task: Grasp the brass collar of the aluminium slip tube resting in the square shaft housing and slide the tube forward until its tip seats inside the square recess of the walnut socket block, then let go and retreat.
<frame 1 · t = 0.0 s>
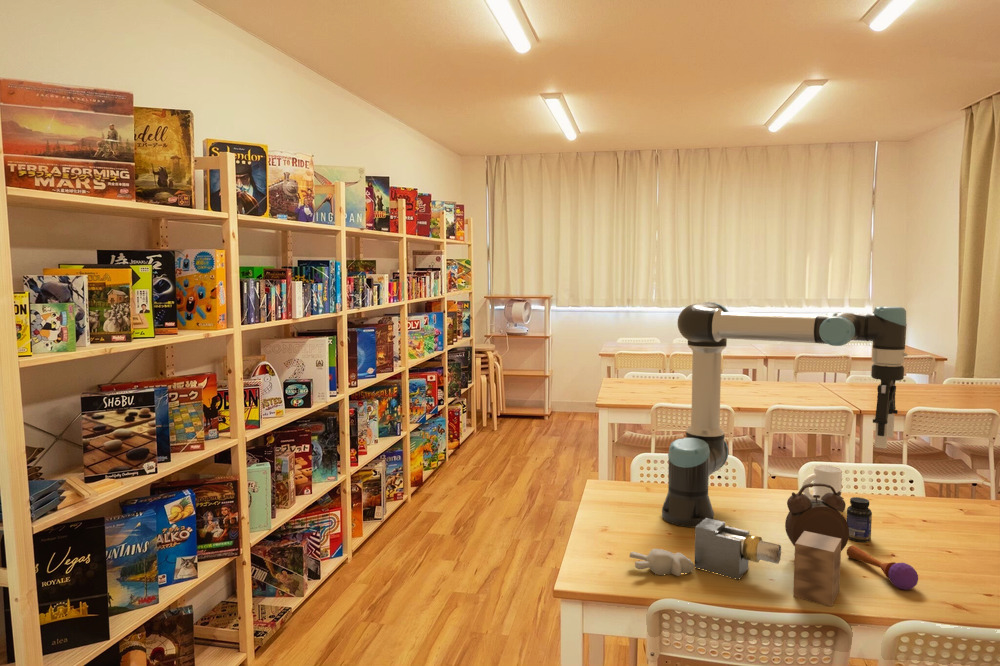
hand: (884, 442, 178), 28 cm above the table, fingers open, 13 cm apart
slip tube: (738, 544, 162), point 7 cm above the table, slide at 0.0 cm
bunny figurine: (661, 572, 164), on the table
socket block: (816, 593, 152), on the table
pill bottle: (858, 539, 184), on the table
alarm clock: (814, 559, 171), on the table
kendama: (880, 575, 162), on the table
mug: (820, 505, 209), on the table
square shaft housing: (721, 568, 166), on the table
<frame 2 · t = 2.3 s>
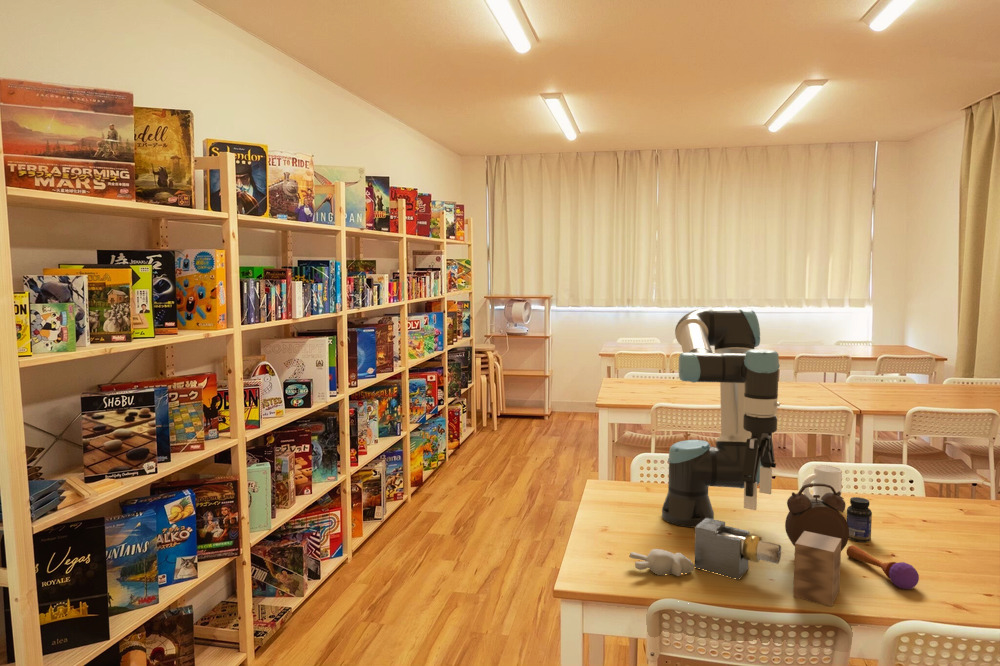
hand: (757, 500, 160), 19 cm above the table, fingers open, 13 cm apart
nothing on the table moved.
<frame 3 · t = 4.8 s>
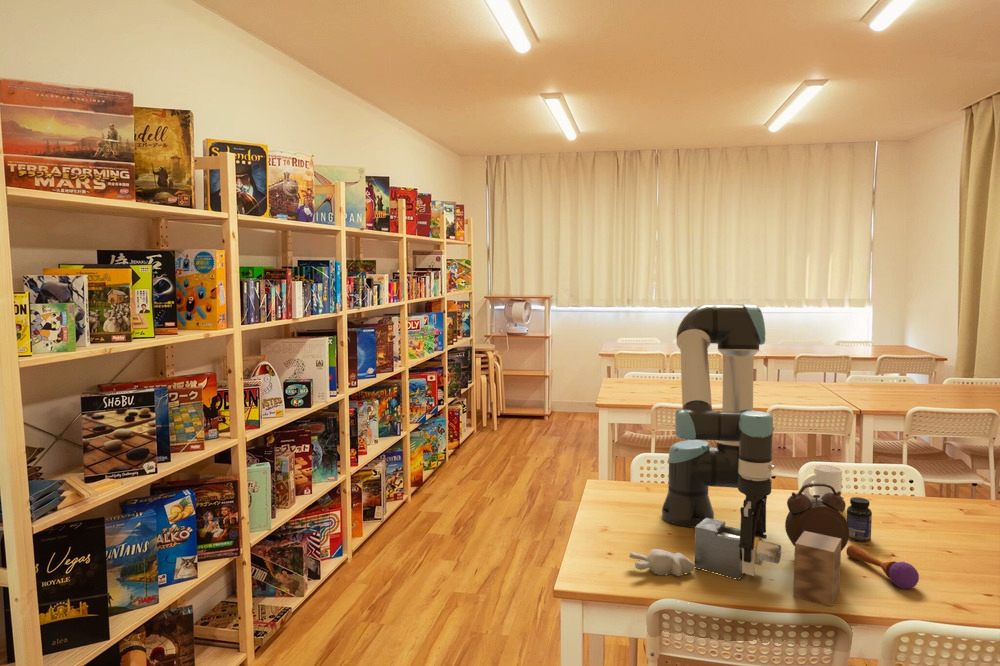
hand: (752, 568, 161), 2 cm above the table, fingers closed on slip tube, 6 cm apart
slip tube: (738, 544, 162), point 7 cm above the table, slide at 0.0 cm, touching gripper
everything else where it was.
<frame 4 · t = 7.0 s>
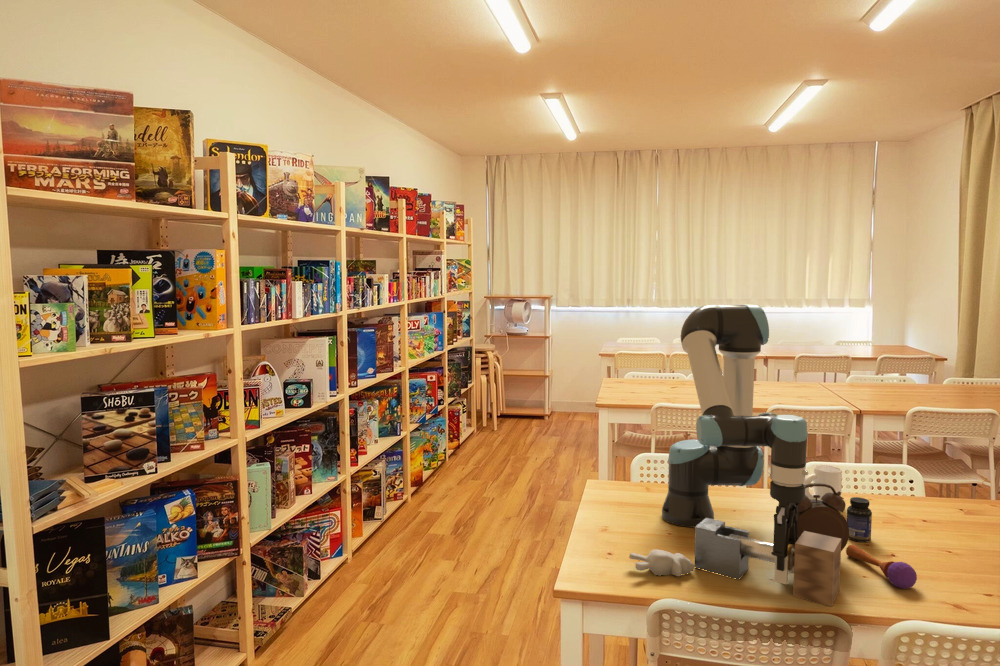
hand: (784, 576, 156), 2 cm above the table, fingers closed on slip tube, 6 cm apart
slip tube: (769, 552, 158), point 7 cm above the table, slide at 7.5 cm, touching gripper
everything else where it was.
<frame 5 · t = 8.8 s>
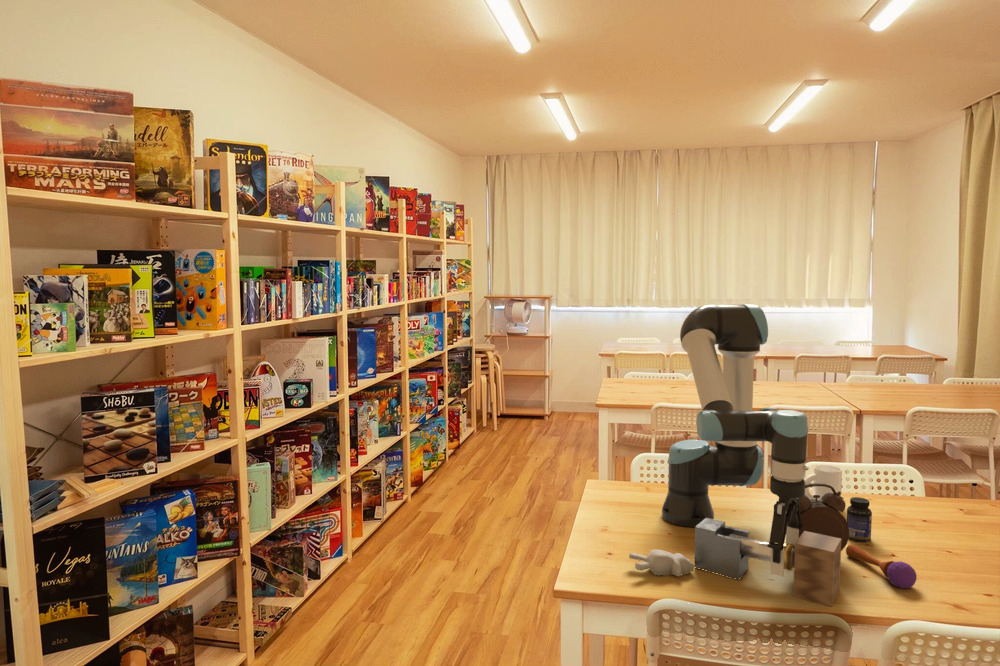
hand: (784, 564, 156), 5 cm above the table, fingers open, 13 cm apart
slip tube: (769, 552, 158), point 7 cm above the table, slide at 7.5 cm
everything else where it was.
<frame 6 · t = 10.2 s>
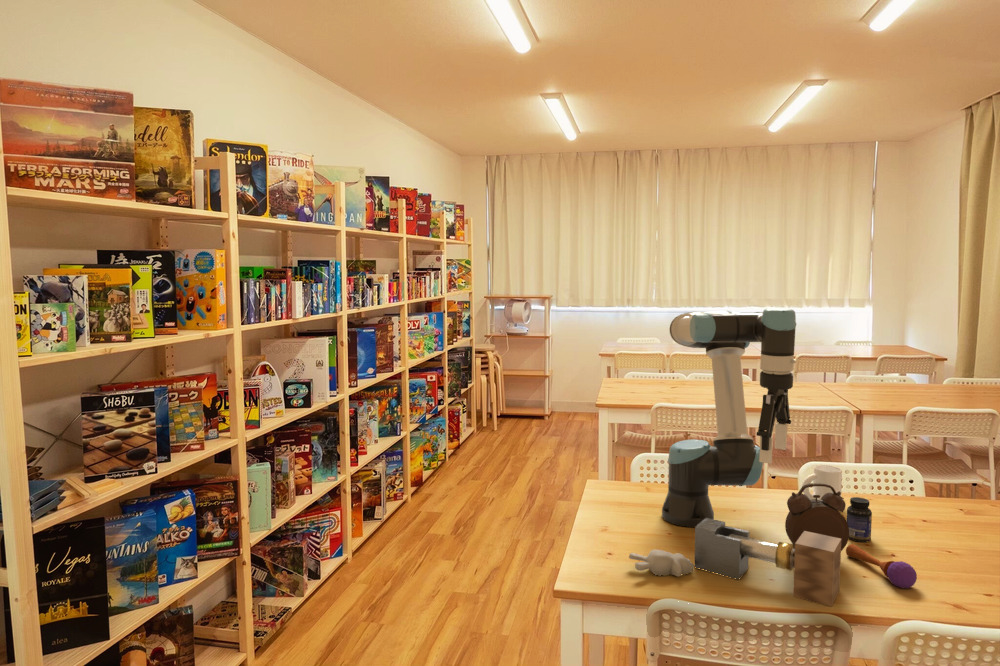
hand: (773, 455, 164), 29 cm above the table, fingers open, 13 cm apart
nothing on the table moved.
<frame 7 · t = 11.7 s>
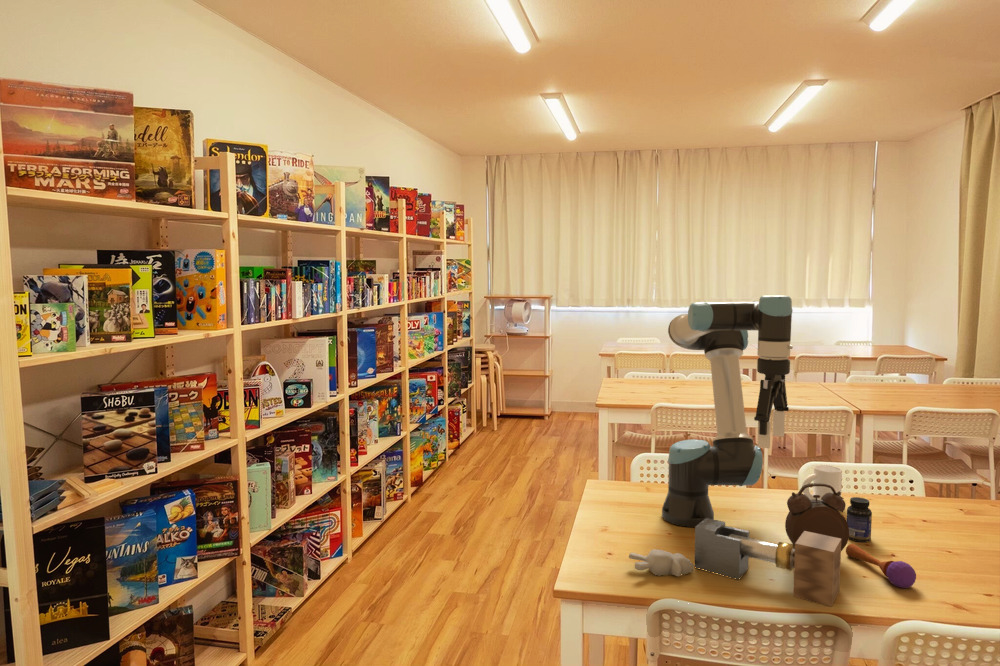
hand: (771, 441, 165), 32 cm above the table, fingers open, 13 cm apart
nothing on the table moved.
at the end: slip tube slide at 7.5 cm; the gripper is holding nothing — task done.
